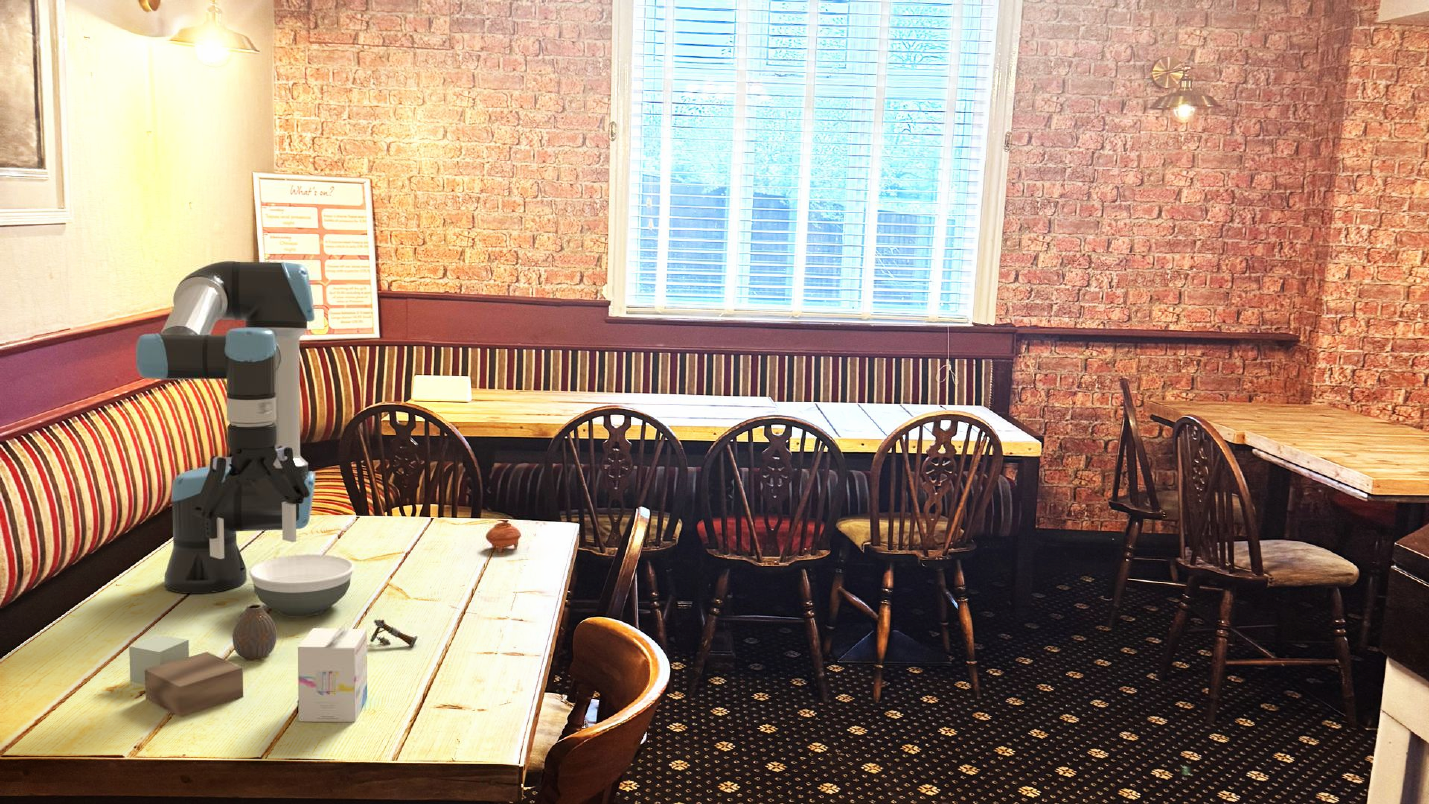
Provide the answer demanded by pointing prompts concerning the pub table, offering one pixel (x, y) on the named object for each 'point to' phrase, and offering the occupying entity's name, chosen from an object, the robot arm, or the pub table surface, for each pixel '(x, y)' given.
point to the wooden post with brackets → (393, 632)
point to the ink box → (332, 675)
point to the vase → (254, 634)
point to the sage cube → (155, 654)
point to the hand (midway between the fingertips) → (254, 548)
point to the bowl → (302, 583)
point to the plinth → (193, 684)
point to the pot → (503, 536)
